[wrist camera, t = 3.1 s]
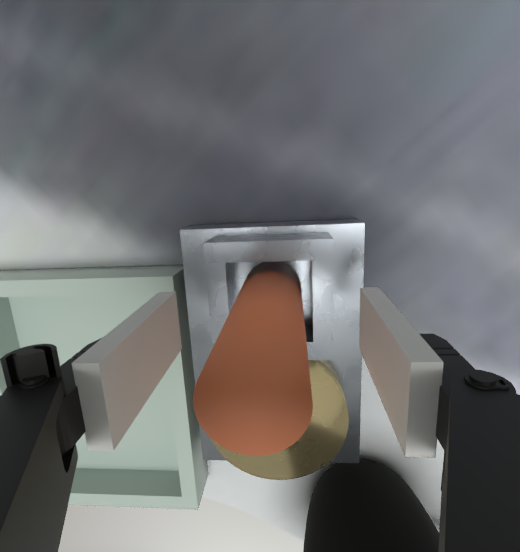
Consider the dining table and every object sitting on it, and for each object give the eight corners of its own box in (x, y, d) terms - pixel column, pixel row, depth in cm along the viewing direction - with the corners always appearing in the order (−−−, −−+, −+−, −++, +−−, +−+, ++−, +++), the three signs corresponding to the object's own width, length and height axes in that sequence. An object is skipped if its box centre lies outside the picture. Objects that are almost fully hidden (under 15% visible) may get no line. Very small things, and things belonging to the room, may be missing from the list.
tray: (-2, 270, 24) (-43, 281, 21) (187, 264, 23) (172, 276, 20) (44, 470, 28) (15, 503, 25) (208, 474, 27) (198, 509, 24)
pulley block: (352, 436, 25) (369, 504, 20) (210, 433, 26) (190, 498, 20) (356, 218, 21) (378, 229, 16) (191, 225, 22) (160, 237, 17)
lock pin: (242, 261, 20) (187, 350, 9) (300, 260, 20) (312, 349, 9) (245, 316, 21) (198, 454, 10) (301, 315, 20) (313, 457, 10)
